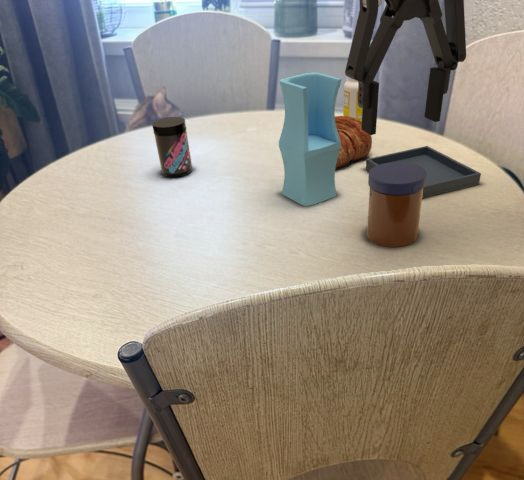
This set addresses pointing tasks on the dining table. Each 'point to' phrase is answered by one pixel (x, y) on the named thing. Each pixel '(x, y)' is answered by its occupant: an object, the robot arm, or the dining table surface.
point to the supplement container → (172, 146)
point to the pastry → (351, 140)
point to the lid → (397, 178)
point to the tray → (433, 169)
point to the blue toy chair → (309, 137)
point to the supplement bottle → (351, 100)
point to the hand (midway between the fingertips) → (400, 125)
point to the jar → (393, 218)
